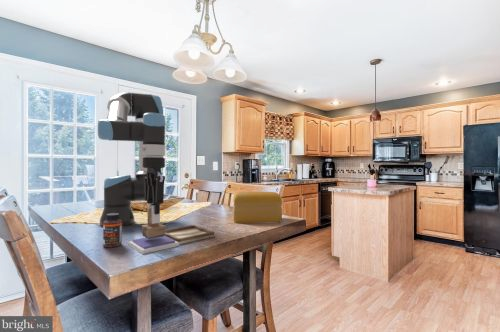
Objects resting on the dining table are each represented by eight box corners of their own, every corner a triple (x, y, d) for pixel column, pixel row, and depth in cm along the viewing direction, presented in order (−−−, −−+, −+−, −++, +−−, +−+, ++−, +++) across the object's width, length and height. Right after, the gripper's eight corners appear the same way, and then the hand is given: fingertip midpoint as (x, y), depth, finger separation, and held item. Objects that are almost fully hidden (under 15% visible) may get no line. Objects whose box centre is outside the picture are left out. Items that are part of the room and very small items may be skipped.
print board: (159, 235, 107) (159, 231, 107) (193, 229, 118) (193, 225, 118) (178, 244, 95) (178, 239, 95) (214, 236, 106) (214, 231, 106)
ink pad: (128, 244, 94) (128, 239, 94) (163, 238, 103) (163, 233, 103) (142, 254, 85) (142, 248, 85) (178, 245, 94) (178, 240, 94)
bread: (233, 223, 130) (234, 193, 130) (233, 218, 143) (233, 190, 143) (282, 222, 132) (282, 193, 132) (277, 217, 145) (277, 190, 145)
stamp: (141, 235, 95) (142, 208, 94) (158, 232, 99) (158, 206, 98) (148, 239, 90) (148, 211, 90) (165, 236, 94) (165, 209, 94)
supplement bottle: (101, 249, 90) (102, 216, 90) (103, 244, 95) (104, 213, 95) (121, 246, 92) (121, 214, 92) (122, 242, 97) (122, 211, 97)
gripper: (135, 156, 97) (134, 219, 98) (152, 156, 85) (152, 228, 86) (154, 157, 102) (154, 216, 103) (174, 157, 90) (173, 224, 91)
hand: (153, 221), depth 94 cm, fingers closed on stamp, 3 cm apart
